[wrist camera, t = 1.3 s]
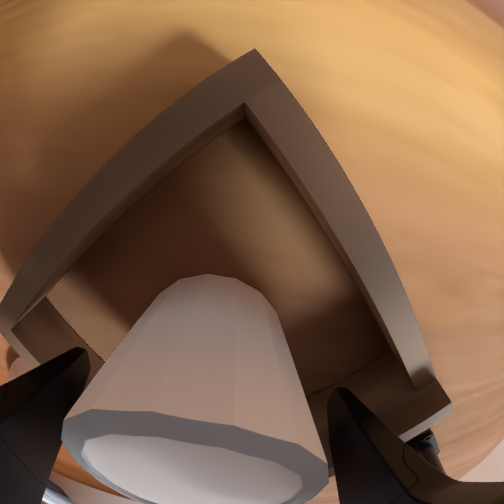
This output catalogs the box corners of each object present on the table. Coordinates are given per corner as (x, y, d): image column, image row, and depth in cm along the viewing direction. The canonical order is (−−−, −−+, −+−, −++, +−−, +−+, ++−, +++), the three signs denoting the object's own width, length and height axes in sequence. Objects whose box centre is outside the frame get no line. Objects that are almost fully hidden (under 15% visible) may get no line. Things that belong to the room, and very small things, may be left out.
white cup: (259, 402, 13) (263, 527, 6) (126, 361, 12) (74, 480, 6) (324, 292, 11) (392, 444, 4) (153, 232, 10) (37, 355, 3)
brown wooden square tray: (413, 349, 12) (453, 411, 8) (201, 449, 15) (194, 507, 11) (252, 78, 8) (256, 22, 4) (25, 290, 11) (-28, 338, 7)
